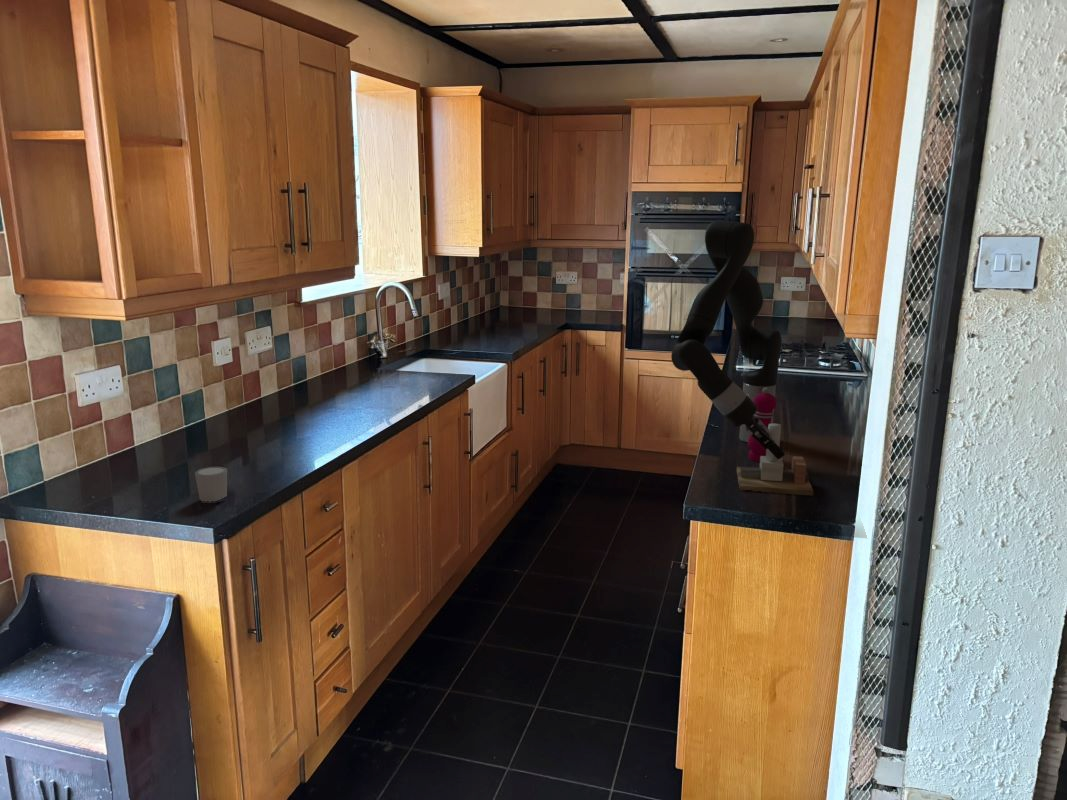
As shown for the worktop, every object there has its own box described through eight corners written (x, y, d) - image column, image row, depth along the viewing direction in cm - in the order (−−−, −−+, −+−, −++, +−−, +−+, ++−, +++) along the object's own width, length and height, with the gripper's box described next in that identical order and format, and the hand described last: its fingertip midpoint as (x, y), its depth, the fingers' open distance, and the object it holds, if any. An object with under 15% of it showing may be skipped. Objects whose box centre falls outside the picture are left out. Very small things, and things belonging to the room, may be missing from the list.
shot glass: (211, 493, 183) (208, 464, 182) (236, 496, 181) (233, 467, 180) (190, 503, 177) (187, 473, 175) (216, 506, 175) (213, 477, 173)
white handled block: (759, 472, 199) (763, 421, 195) (779, 473, 198) (784, 422, 194) (760, 479, 193) (765, 427, 190) (782, 481, 192) (786, 428, 189)
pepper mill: (769, 454, 219) (774, 384, 214) (777, 462, 211) (784, 390, 207) (743, 454, 218) (748, 384, 214) (751, 462, 211) (757, 390, 207)
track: (736, 470, 204) (738, 448, 203) (804, 475, 201) (806, 452, 200) (739, 490, 190) (741, 465, 188) (813, 495, 187) (815, 470, 185)
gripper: (747, 400, 185) (796, 453, 186) (744, 388, 199) (790, 437, 199) (723, 420, 187) (771, 473, 188) (721, 407, 201) (766, 455, 201)
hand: (780, 454), depth 194 cm, fingers closed on white handled block, 3 cm apart
